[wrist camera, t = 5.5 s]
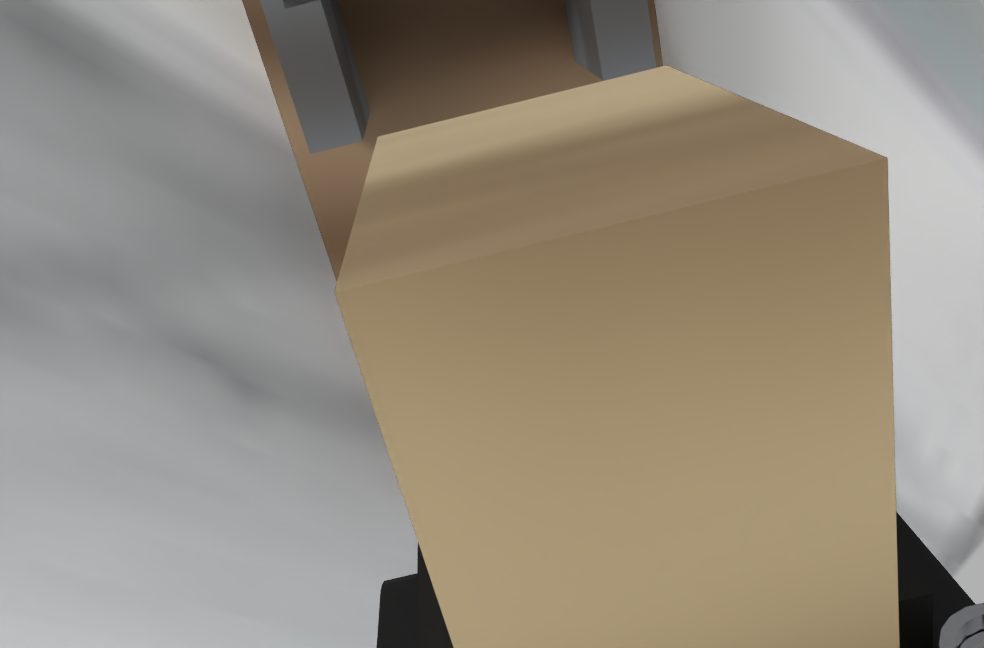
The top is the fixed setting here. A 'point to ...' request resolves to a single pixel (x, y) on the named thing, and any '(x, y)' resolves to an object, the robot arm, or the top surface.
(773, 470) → the beige rectangular block
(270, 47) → the rail
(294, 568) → the top surface
